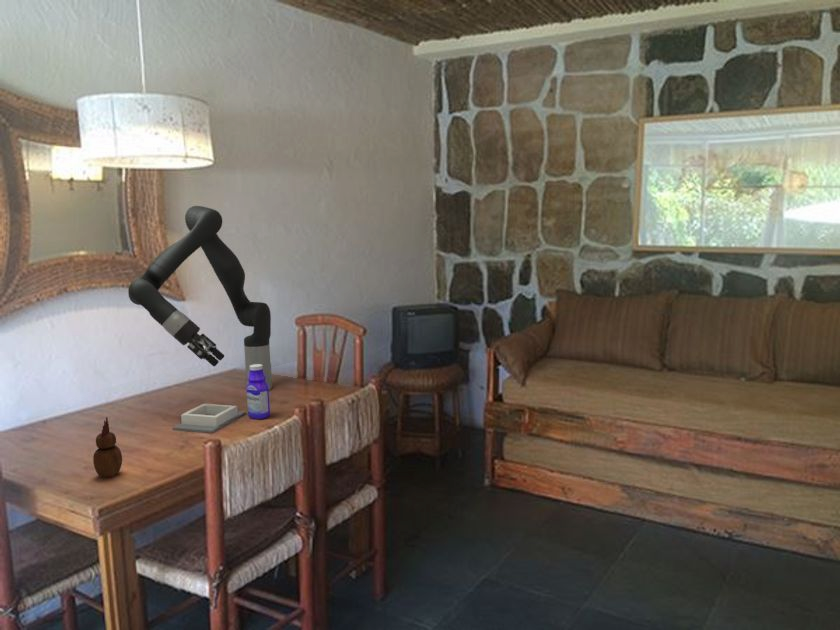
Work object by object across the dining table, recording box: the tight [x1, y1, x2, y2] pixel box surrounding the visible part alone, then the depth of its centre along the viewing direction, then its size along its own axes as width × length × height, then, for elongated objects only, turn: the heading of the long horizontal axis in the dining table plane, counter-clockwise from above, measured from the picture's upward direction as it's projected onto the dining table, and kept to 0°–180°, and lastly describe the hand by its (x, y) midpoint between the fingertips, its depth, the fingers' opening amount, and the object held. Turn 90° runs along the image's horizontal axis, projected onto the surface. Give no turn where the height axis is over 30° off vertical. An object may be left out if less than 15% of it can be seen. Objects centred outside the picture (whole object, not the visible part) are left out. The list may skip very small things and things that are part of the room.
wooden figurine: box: [92, 416, 123, 478], centre depth 173 cm, size 7×6×15 cm
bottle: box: [246, 364, 271, 420], centre depth 220 cm, size 7×6×17 cm
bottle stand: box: [171, 403, 247, 434], centre depth 217 cm, size 20×14×4 cm
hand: (219, 361), depth 217 cm, fingers open, 8 cm apart
